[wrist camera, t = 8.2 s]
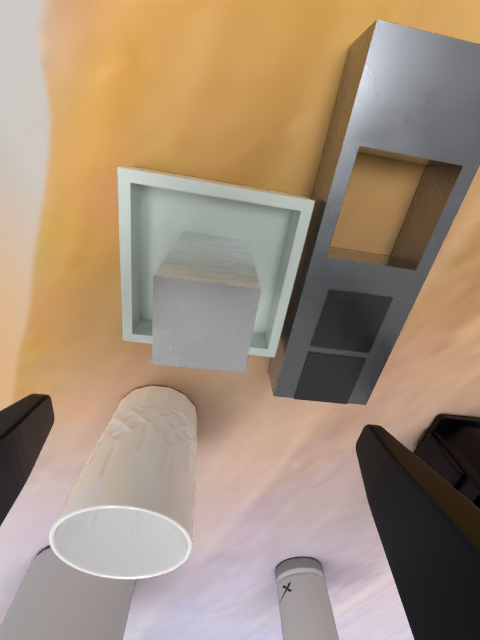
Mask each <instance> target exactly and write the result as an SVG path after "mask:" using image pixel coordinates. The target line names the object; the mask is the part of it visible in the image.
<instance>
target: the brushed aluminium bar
mask: <svg viewBox="0 0 480 640" xmlns="http://www.w3.org/2000/svg"><path fill="white" fill-rule="evenodd" d="M260 294H261V286H260V282H259V278H258V275H257V271H256V267H255V264H254V260H253V256H252V252H251V249H250V245H249V241H248V240H242V239H235V238H228V237H221V236H215V235H208V234H201V233H194V232H187V231H182V233H181V234H180V236H179V237H178V239H177V240H176V242H175V243H174V245H173V246H172V248H171V249H170V251H169V252H168V254H167V255H166V257H165V258H164V260H163V261H162V263H161V264H160V266H159V267H158V269H157V270H156V272H155V273H154V275H153V323H152V364H155V365H165V366H175V367H185V368H195V369H206V370H216V371H226V372H236V373H245V369H246V364H247V359H248V354H249V349H250V344H251V339H252V334H253V329H254V324H255V319H256V314H257V309H258V304H259V299H260Z"/></svg>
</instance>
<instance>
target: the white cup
mask: <svg viewBox="0 0 480 640" xmlns="http://www.w3.org/2000/svg"><path fill="white" fill-rule="evenodd" d="M197 422H198V420H197V414H196V408H195V406H194V405H193V404H192V402H191V401H190V400H189V399H188V398H187V396H186V395H184V394H182V393H180V392H178V391H176V390H174V389H172V388H169V387H161V386H152V385H151V386H147V387H143V388H139V389H135V390H133V391H132V392H130V393H129V394H128V395H127V396H125V397H124V398H123V399H122V400H121V402H120V404H119V406H118V407H117V409H116V411H115V413H114V415H113V417H112V419H111V421H110V423H109V424H108V426H107V427H106V428H105V430H104V431H103V433H102V435H101V437H100V439H99V441H98V443H97V445H96V446H95V448H94V449H93V451H92V453H91V455H90V456H89V458H88V460H87V462H86V464H85V466H84V468H83V470H82V472H81V473H80V475H79V477H78V479H77V481H76V483H75V485H74V487H73V489H72V491H71V492H70V494H69V496H68V498H67V500H66V502H65V504H64V506H63V508H62V510H61V511H60V513H59V515H58V517H57V519H56V521H55V523H54V525H53V526H52V528H51V530H50V533H49V543H50V546H51V549H52V550H53V552H54V553H55V554H56V555H57V557H59V558H60V559H61V560H62V561H63V562H65V563H66V564H68V565H70V566H71V567H73V568H75V569H77V570H80V571H82V572H85V573H88V574H92V575H95V576H100V577H105V578H113V579H142V578H149V577H154V576H158V575H162V574H165V573H167V572H170V571H172V570H174V569H176V568H177V567H179V566H180V565H182V564H183V563H184V562H185V561H186V560H187V559H188V557H189V556H190V554H191V551H192V543H193V524H194V506H195V489H196V456H197V438H196V436H197Z"/></svg>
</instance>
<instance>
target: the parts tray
mask: <svg viewBox="0 0 480 640" xmlns="http://www.w3.org/2000/svg"><path fill="white" fill-rule="evenodd" d="M117 173H118V205H119V238H120V270H121V303H122V335H123V341H130V342H139V343H148V344H152V323H153V275H154V273H155V272H156V270H157V269H158V267H159V266H160V264H161V263H162V261H163V260H164V258H165V257H166V255H167V254H168V252H169V251H170V249H171V248H172V246H173V245H174V243H175V242H176V240H177V239H178V237H179V236H180V234H181V233H182V231H187V232H194V233H201V234H208V235H215V236H221V237H228V238H235V239H242V240H248V241H249V245H250V249H251V252H252V256H253V260H254V264H255V267H256V271H257V275H258V278H259V282H260V286H261V294H260V299H259V304H258V309H257V314H256V319H255V324H254V329H253V334H252V339H251V344H250V349H249V354H248V355H256V356H265V357H274V358H275V355H276V351H277V347H278V343H279V339H280V335H281V331H282V327H283V324H284V320H285V316H286V312H287V308H288V304H289V300H290V296H291V293H292V289H293V285H294V281H295V277H296V273H297V269H298V265H299V262H300V258H301V254H302V250H303V246H304V242H305V238H306V234H307V231H308V227H309V223H310V219H311V215H312V211H313V207H314V203H315V201H314V200H312V199H310V198H307V197H305V196H301V195H295V194H289V193H283V192H277V191H271V190H266V189H260V188H254V187H248V186H242V185H237V184H231V183H225V182H219V181H213V180H208V179H202V178H196V177H190V176H184V175H179V174H173V173H167V172H161V171H155V170H150V169H144V168H138V167H117Z"/></svg>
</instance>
